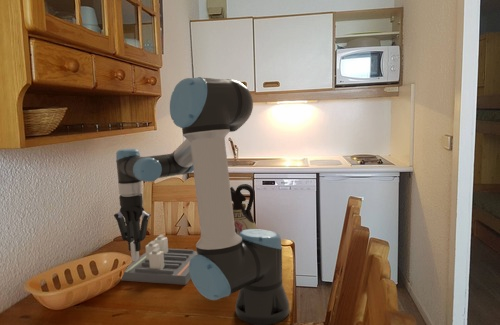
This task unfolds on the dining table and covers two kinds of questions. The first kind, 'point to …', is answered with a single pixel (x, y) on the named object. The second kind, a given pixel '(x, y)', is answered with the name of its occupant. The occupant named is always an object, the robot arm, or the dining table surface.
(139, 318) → the dining table surface
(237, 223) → the ceramic jug
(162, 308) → the dining table surface
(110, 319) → the dining table surface
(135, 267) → the tray
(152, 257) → the block
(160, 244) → the far breaker handle
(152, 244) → the handle
